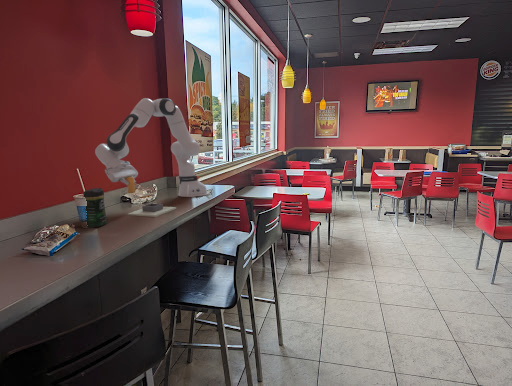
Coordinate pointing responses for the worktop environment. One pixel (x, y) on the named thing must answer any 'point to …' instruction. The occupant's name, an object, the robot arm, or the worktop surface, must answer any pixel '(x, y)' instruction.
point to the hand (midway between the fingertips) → (131, 183)
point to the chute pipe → (131, 185)
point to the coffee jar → (95, 207)
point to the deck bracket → (152, 210)
